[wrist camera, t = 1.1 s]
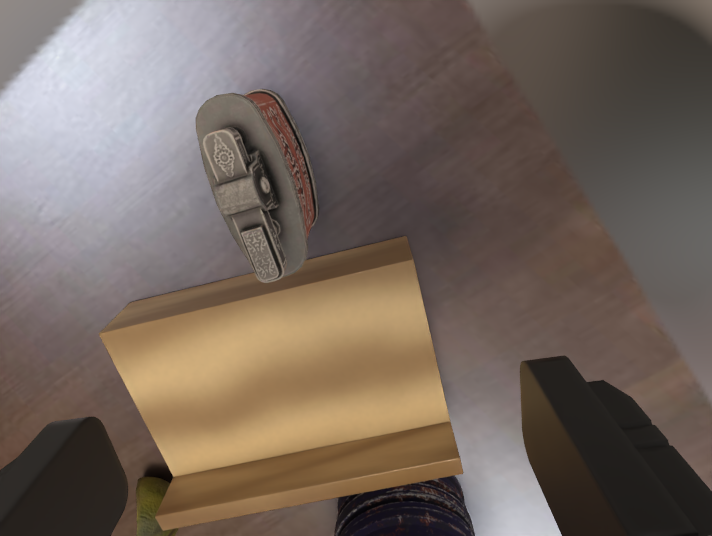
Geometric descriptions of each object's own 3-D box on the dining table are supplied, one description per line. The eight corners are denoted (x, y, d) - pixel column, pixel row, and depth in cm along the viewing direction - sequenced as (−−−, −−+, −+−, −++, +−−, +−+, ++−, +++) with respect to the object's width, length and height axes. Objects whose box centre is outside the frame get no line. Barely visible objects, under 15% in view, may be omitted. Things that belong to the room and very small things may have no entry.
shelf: (129, 302, 30) (67, 363, 24) (406, 235, 29) (420, 282, 22) (199, 446, 35) (162, 531, 28) (443, 395, 33) (463, 474, 26)
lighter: (225, 99, 26) (151, 112, 17) (284, 80, 25) (242, 83, 16) (276, 235, 29) (238, 311, 19) (330, 220, 28) (316, 290, 19)
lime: (161, 517, 37) (133, 580, 33) (120, 476, 36) (85, 536, 31) (207, 496, 37) (185, 557, 32) (167, 453, 35) (138, 511, 30)
